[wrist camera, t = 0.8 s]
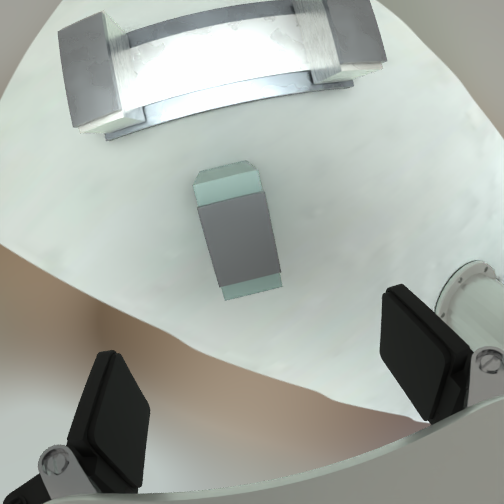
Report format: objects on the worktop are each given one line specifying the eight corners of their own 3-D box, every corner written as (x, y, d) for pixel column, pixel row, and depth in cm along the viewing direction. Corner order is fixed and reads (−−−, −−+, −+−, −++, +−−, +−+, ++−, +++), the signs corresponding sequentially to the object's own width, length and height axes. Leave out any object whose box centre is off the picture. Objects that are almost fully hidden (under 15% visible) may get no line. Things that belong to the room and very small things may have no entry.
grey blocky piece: (326, 1, 24) (363, -37, 15) (349, 87, 27) (397, 73, 19) (92, 51, 23) (48, 25, 14) (110, 140, 27) (68, 144, 18)
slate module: (246, 160, 29) (259, 170, 20) (265, 247, 33) (284, 289, 24) (199, 171, 29) (191, 186, 20) (221, 257, 32) (224, 304, 24)
